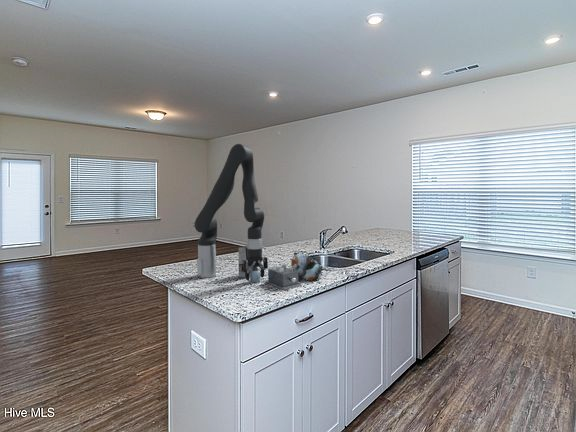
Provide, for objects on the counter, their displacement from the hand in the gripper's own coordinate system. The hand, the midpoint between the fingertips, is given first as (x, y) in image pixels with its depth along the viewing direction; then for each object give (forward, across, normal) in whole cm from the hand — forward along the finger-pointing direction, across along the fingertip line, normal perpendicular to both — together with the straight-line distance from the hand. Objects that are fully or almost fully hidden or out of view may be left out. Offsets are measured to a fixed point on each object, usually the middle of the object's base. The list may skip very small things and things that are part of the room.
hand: (255, 278), depth 166 cm
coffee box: (+2, +3, +12) cm, 12 cm away
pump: (+2, 0, 0) cm, 2 cm away
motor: (+2, +9, -12) cm, 15 cm away
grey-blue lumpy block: (+2, +26, -10) cm, 28 cm away
